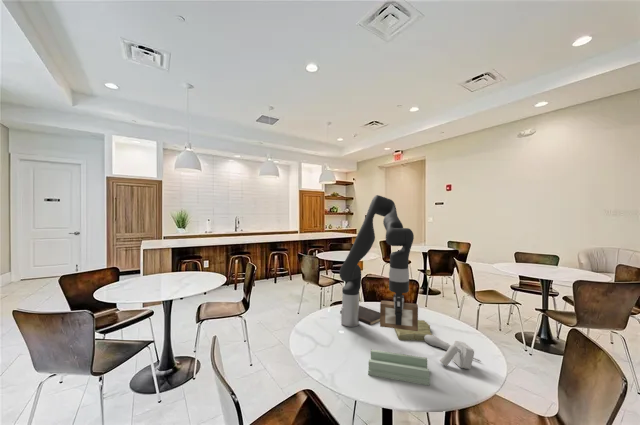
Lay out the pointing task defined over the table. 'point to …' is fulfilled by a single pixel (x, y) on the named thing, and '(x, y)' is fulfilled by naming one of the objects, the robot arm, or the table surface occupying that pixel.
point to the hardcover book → (368, 315)
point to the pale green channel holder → (399, 367)
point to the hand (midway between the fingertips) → (398, 321)
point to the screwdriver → (438, 343)
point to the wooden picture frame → (407, 316)
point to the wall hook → (459, 355)
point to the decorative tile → (414, 332)
